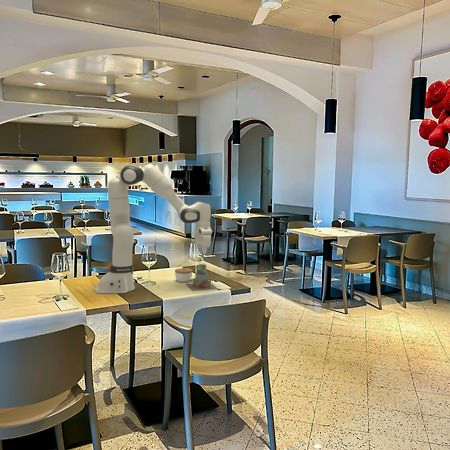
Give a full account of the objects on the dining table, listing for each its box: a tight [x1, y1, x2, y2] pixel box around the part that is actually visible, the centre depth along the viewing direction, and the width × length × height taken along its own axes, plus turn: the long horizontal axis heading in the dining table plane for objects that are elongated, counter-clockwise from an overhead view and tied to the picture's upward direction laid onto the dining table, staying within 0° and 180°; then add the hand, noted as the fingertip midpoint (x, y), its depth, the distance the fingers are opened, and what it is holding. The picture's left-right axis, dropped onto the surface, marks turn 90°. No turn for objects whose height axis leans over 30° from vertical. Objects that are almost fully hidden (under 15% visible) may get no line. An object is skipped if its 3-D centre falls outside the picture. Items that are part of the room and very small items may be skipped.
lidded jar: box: [174, 266, 193, 283], centre depth 268 cm, size 11×11×9 cm
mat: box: [185, 282, 219, 292], centre depth 256 cm, size 16×16×1 cm
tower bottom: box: [192, 278, 211, 289], centre depth 256 cm, size 8×8×4 cm
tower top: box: [194, 271, 209, 282], centre depth 255 cm, size 6×6×4 cm
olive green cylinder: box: [197, 263, 207, 274], centre depth 255 cm, size 5×5×5 cm
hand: (202, 252), depth 254 cm, fingers open, 8 cm apart
